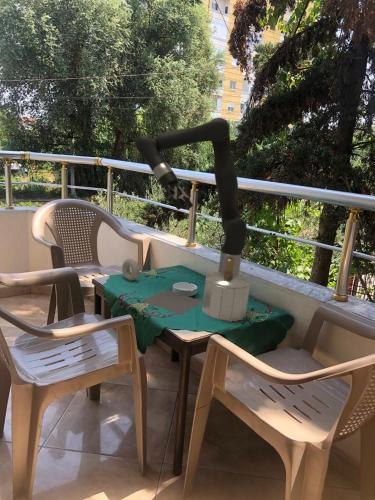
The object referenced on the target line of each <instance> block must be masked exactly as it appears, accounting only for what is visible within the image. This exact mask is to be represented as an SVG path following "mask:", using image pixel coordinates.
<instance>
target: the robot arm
mask: <svg viewBox="0 0 375 500" xmlns="http://www.w3.org/2000/svg"><path fill="white" fill-rule="evenodd" d="M203 142H211V145H212V148H213V150H212V151H213V157H214V158H213V161H214V162H213V163H214V164H213V165H214V166H213V169H214V170H213V171H214V180H215V181H214V182H215V186H216V191H217V197H218V201H219V206H220V215H221V228H222V231H223V233H224V234H225V237H224V242H223V244H222V245H221V246H220V247H221V248H220V249H221V250H220V258H219V265H218V272H225V264H226V258H233V259H235V261H234V269H233V274H237V275H239V274H240V268H241V259H242V253H243V250H244V249H245V248H244V247H245V244H246V243H245V242H246V238H247V231H248V227H247V223H246V221H244V220H243V218H242V219H241V218H240V215H239V210H238V206H237V199H238V191H239V183H238V175H237V171H236V170H237V169H236V165H235V160H234V157H233V153H232V149H231V127H230V124H229V122H228V121H227V120H226V119H225V118H223V117H214V118H213V119H211V120H210V121H207V122H204V123H202V124H200V125H197V126H193V127H187V128H180V129H174V130H169V131H165V132H161V133H159V134H158V135H157V137H154V138H151V137H150V136H148V135H147V134H139V135H138V136H137V137H136V138H135V143H134V144H135V148H136V150H137V151H138V152H139V154H140V155H141V156H142V157H143V159H144V160H145V162H146V163H147V164H148V166H149V169H150V170H151V171H152V173H153V176H154V177H155V179H156V181H157V182H158V183H159V185H160V187H161V188H162V189H161V192H162V193H163V195H164V197H165V199H166V200H167V202H171V203H173V205H174V206H175V208H176V209H177V211H179V210H181V209H182V208H183V205H182V204H181V202H180V201H179V199H181V200H182V201H183V202H184V203H185V205H186V206H187V207H188V209H192V207H193V206H194V204H193V202H192V201H191V199H190V198H191V197H192V196H191V194H190V192H189V191H188V189H187V188H186V187H185V185H184V184H183V185H182V186H180V185H179V177H177V175H176V174H175V172H174V171H173V169H172V167H171V166H170V165H169V164H168V162H167V161H166V159H165V157H164V156H163V154H161V152H163V151H166V150H171V149H175V148H179V147H183V146H187V145H191V144H195V143H203Z"/></svg>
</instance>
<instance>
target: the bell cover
mask: <svg viewBox="0 0 375 500" xmlns="http://www.w3.org/2000/svg"><path fill="white" fill-rule="evenodd" d="M234 261H235V259H233V258H226V264H225V272H219V271H218V272H217V271H216V272H211V273H208V274H207V275H206V276H205V282H204V291H203V299H202V300H203V303H202V308H201V309H202V312H203V313H204V314H205V315H206V316H208V317H210V318H214V319H216V320H219V321H221V320H222V321H226V323H227V322H228V323H233V322H232V321H235V322H238V321H237V320H241V319H242V318H244V317H245V318H246V315H247V307H248V301H249V294H250V287H251V281H250V280H249V279H248V278H247V277H245V276H244V275H243V276H242V275H237V274H233V269H234ZM245 318H244V319H245ZM242 320H243V319H242ZM242 320H241V321H242Z"/></svg>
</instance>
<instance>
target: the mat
mask: <svg viewBox="0 0 375 500" xmlns="http://www.w3.org/2000/svg"><path fill="white" fill-rule="evenodd" d="M173 292H174V291H171V290H168V289H165V290H162V291H161V292H158V293H155V294H153V295H150V296H148V297H146V298H144V299H141V300H140V302H142V303H146V304H148V305H152V306H154V307H158V308H160V309H162V310H165V311H169V312H171V313H175V314H177V315H183V314H185V313H186V312H189V311H190V310H193V309H194V308H196V307H198V306H200V305H203V301H202V300H200V299H196V298H194V297H191V296H187V295H185V296H179V295H176V294H174V293H173Z"/></svg>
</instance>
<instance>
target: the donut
mask: <svg viewBox="0 0 375 500" xmlns="http://www.w3.org/2000/svg"><path fill="white" fill-rule="evenodd" d="M121 268H122V275H123V276H124V278H125V279H126V280H127V281H131V282H132V281H136V280H137V279H138V278H139V276H140V267H139V264H138V262H137V261H136V260H134V259H133V258H128V259H125V260H124V262H123V264H122V267H121Z"/></svg>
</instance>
